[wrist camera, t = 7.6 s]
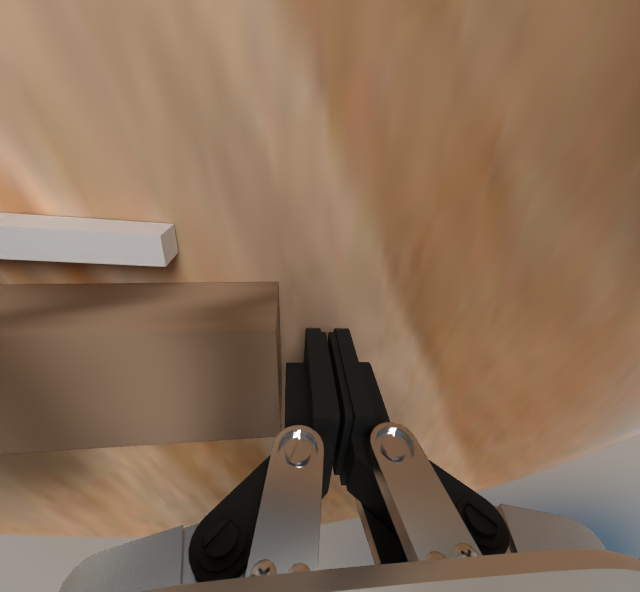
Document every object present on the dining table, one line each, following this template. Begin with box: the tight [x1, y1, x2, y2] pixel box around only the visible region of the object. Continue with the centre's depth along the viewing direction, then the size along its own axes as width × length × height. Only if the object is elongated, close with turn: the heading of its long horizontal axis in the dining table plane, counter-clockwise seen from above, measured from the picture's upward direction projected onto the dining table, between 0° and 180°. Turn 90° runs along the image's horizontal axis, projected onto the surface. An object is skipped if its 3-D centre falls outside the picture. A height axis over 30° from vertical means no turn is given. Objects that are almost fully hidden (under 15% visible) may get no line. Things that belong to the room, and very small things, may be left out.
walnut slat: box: [0, 282, 282, 454], centre depth 10 cm, size 17×5×3 cm, turn 88°
